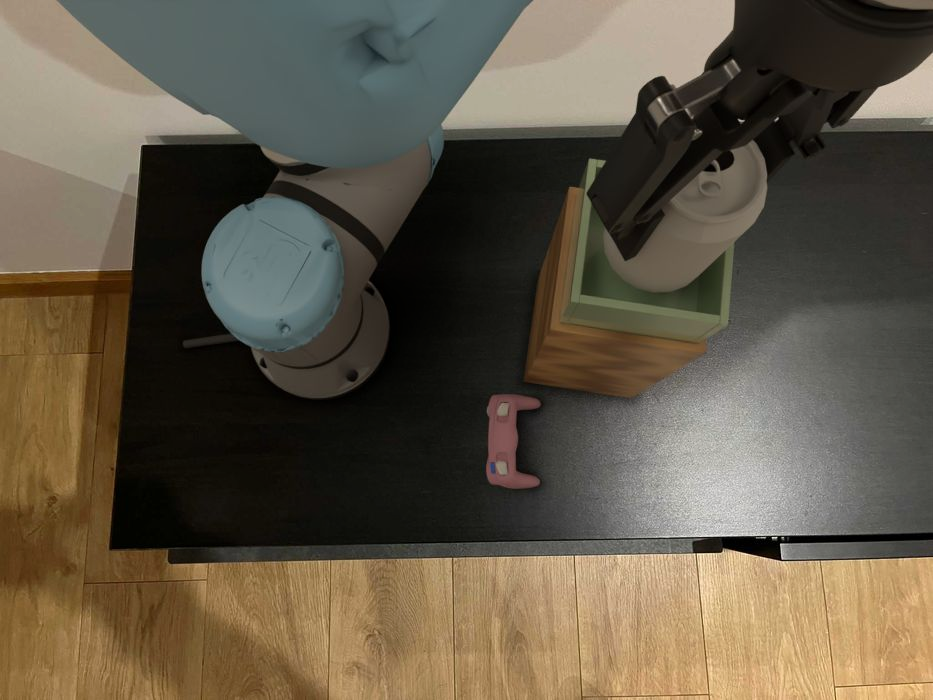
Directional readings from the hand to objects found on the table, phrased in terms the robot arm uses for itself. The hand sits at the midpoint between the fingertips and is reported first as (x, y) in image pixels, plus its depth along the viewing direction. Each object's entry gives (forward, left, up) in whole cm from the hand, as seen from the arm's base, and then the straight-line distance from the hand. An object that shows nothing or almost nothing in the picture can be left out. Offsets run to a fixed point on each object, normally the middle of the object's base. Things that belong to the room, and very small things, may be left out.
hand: (676, 214), depth 44 cm
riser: (0, 0, -34) cm, 34 cm away
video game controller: (-6, -13, -35) cm, 37 cm away
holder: (0, 0, -10) cm, 10 cm away
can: (0, 0, -6) cm, 6 cm away
